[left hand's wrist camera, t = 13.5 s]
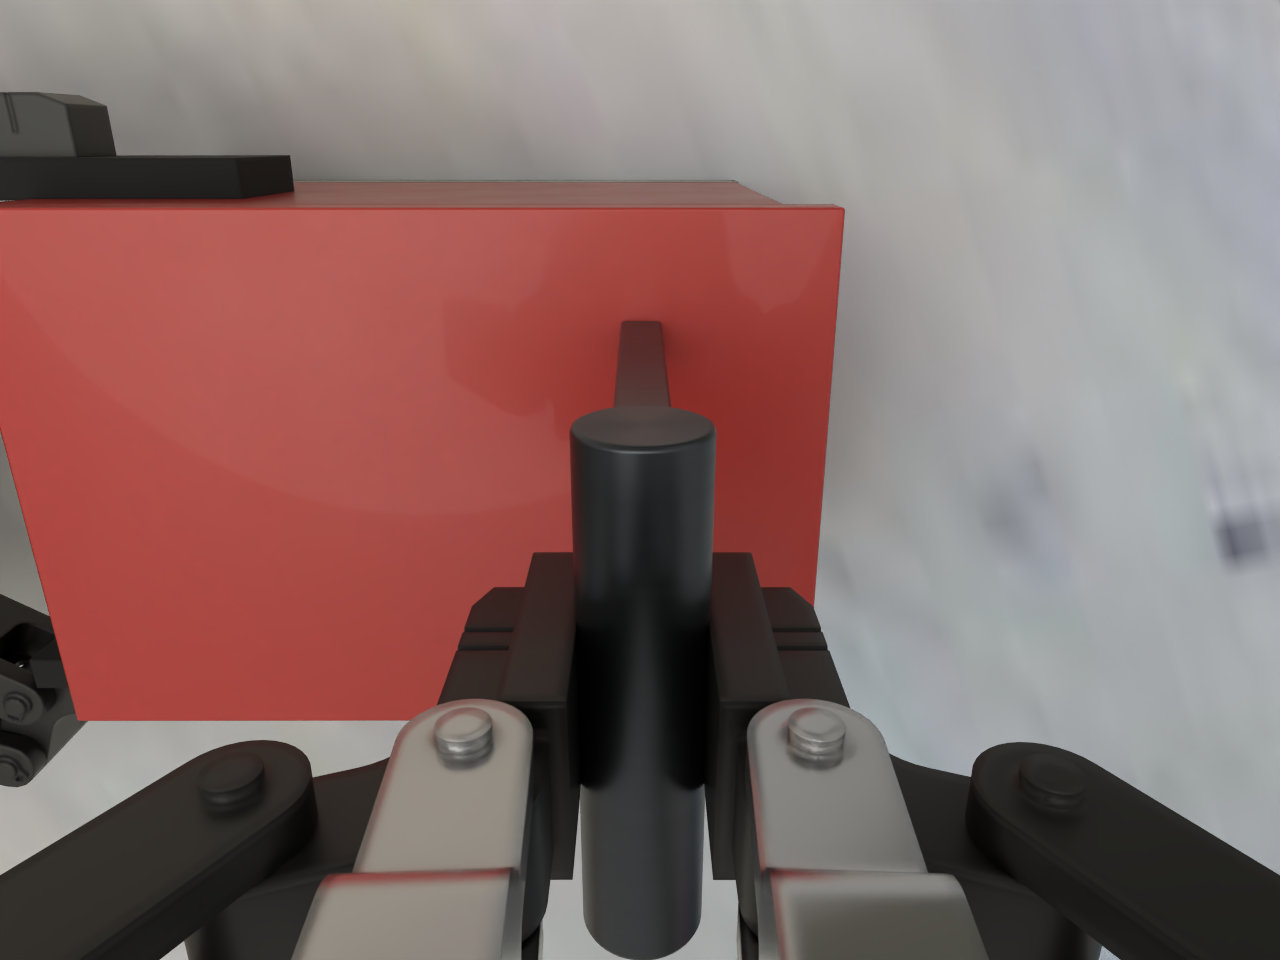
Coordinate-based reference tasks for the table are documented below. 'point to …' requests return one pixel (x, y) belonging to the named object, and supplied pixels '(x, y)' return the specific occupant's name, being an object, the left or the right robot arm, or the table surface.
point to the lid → (422, 466)
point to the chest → (471, 193)
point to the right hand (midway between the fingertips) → (304, 432)
